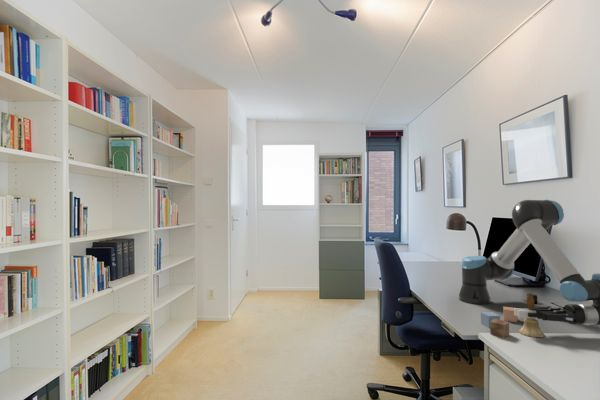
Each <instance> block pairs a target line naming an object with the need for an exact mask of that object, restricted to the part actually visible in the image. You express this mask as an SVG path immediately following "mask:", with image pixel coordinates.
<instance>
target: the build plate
mask: <svg viewBox="0 0 600 400" xmlns="http://www.w3.org/2000/svg"><path fill="white" fill-rule="evenodd" d="M528 293H529V292H528ZM528 293H527V294H526V297H527V296H528ZM532 295H533V298H534V306H535V305H540V306H541V305H543V306H544V304H543V303H541V302H539V301H538V295H537V294H534V293H532ZM523 301H524V302H526V303H527V301H526V299H523Z"/></svg>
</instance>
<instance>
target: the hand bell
mask: <svg viewBox="0 0 600 400" xmlns="http://www.w3.org/2000/svg"><path fill="white" fill-rule="evenodd" d="M532 294H533V293H532V292H528V296H527V295H526V299H525V300H526V301H527V302H526V301H525V302H526V306H527V309H528V310H532V311H533V307H535V304H534V298H533V295H532ZM518 332H519V333H520V334H522V335H523V336H527V337H530V338H536V337H541V338H544V337H545V333H543V331H542V330H541V328H540V325H539V321H538V320H537V318H524V321H523V325H522V327H521V328H520V329H519V330H518Z"/></svg>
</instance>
